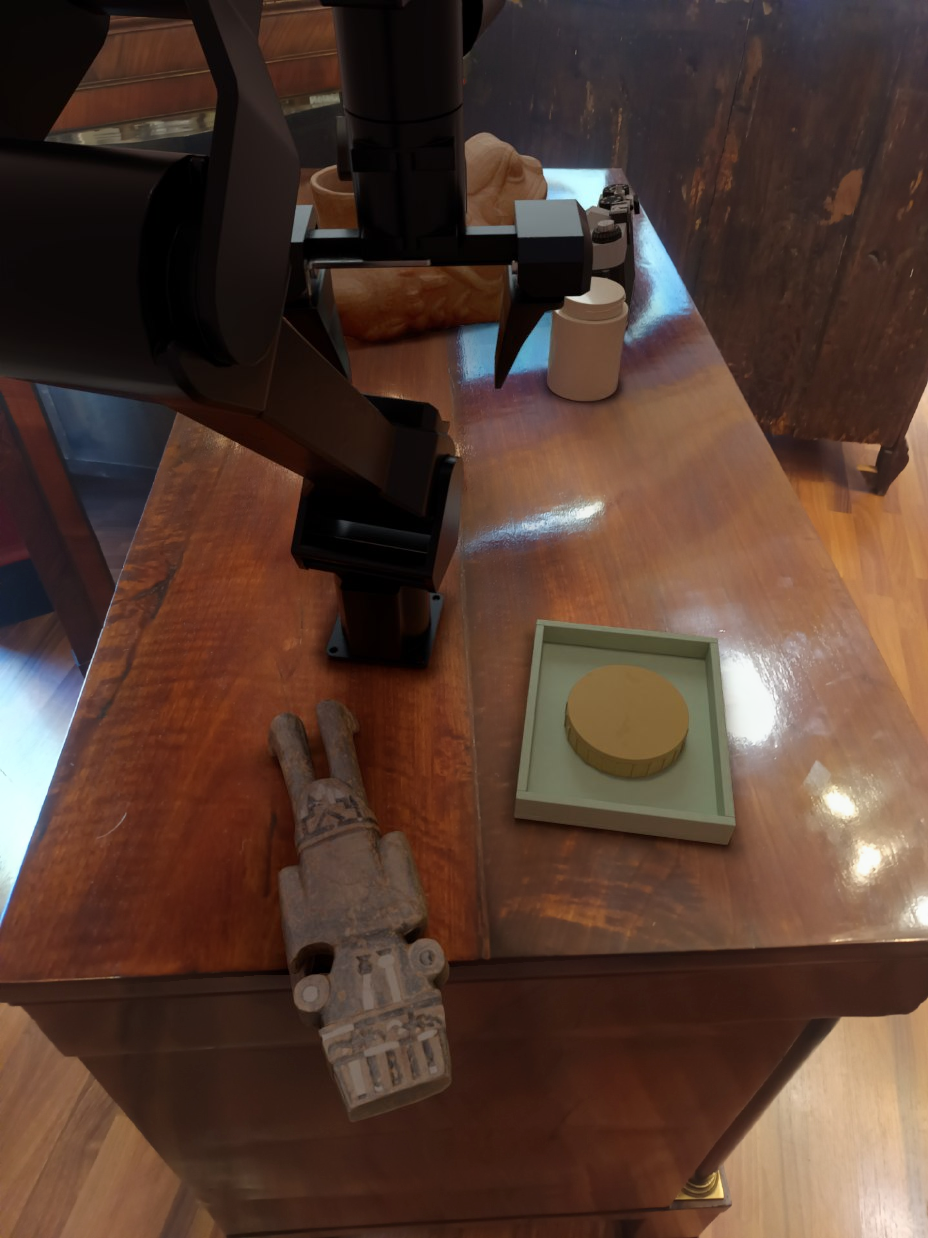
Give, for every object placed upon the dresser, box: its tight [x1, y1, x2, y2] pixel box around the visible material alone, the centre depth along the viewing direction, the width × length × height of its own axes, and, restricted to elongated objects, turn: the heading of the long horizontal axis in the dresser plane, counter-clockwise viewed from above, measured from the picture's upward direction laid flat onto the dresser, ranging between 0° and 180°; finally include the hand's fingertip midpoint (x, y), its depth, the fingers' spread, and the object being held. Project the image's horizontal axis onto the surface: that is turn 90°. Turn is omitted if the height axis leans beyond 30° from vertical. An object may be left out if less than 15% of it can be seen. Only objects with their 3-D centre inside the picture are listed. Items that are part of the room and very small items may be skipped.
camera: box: [585, 183, 641, 327], centre depth 83 cm, size 15×11×10 cm
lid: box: [564, 665, 689, 778], centre depth 46 cm, size 7×7×2 cm
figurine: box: [267, 698, 453, 1123], centre depth 39 cm, size 7×5×20 cm
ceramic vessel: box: [309, 132, 549, 343], centre depth 80 cm, size 14×26×15 cm, turn 112°
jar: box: [546, 277, 628, 402], centre depth 72 cm, size 6×6×9 cm
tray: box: [513, 618, 737, 846], centre depth 46 cm, size 13×11×2 cm
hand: (423, 386), depth 51 cm, fingers open, 9 cm apart
